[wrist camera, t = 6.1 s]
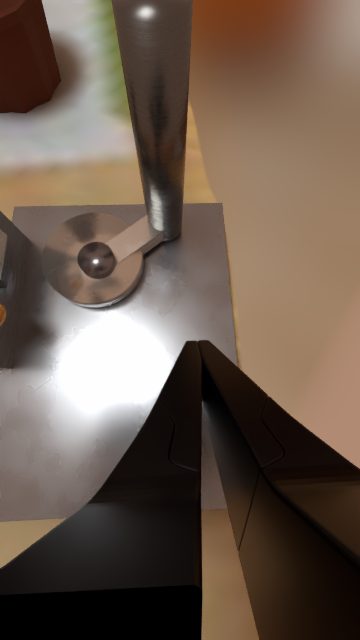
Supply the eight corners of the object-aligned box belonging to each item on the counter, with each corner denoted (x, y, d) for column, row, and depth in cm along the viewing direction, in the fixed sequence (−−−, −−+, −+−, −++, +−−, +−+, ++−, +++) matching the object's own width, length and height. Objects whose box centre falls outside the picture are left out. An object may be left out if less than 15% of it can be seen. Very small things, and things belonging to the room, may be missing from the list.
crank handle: (200, 240, 19) (240, 23, 8) (85, 326, 17) (-97, 215, 6) (144, 182, 20) (105, -83, 9) (32, 257, 18) (-209, 47, 7)
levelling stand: (245, 498, 16) (313, 610, 8) (-17, 512, 16) (-212, 648, 8) (219, 212, 22) (246, 114, 14) (23, 216, 21) (-69, 116, 13)
